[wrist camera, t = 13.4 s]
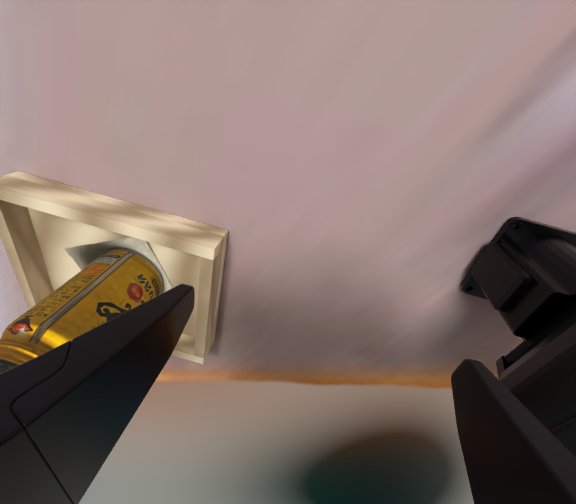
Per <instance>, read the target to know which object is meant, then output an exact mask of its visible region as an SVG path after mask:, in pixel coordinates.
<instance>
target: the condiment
mask: <svg viewBox="0 0 576 504" xmlns="http://www.w3.org/2000/svg"><path fill="white" fill-rule="evenodd" d="M64 250H65V251H66V252H67V253H68V255H69V256H71V257H72V258H73V260H74V261H75V262H76V264H77V265H78V267H79V268H80V269H81V271H80V272H79V273H78V274H76V275H75V276H74V277H72V278H71V279H69V280H68V281H67V282H65V283H64V284H63V285H62V286H60V287H59V288H58V289H56V290H55V291H54V292H52V293H51V294H50V295H48V296H47V297H45V298H44V299H43V300H42V301H40V302H39V303H38V304H36V305H35V306H34V307H32V308H31V309H30V310H28V311H27V312H26V313H24V314H23V315H21V316H20V317H19V318H18V319H16V320H15V321H13V322H12V323H11V324H10V325H9V326H8V327H7V328H6V329H5V331H4V332H3V335H2V338H1V339H0V373H2V372H5V371H7V370H9V369H11V368H13V367H16V366H18V365H20V364H22V363H25V362H27V361H29V360H31V359H33V358H35V357H37V356H40V355H42V354H44V353H46V352H48V351H50V350H52V349H54V348H56V347H58V346H60V345H62V344H64V343H66V342H68V341H72V339H74V338H76V337H78V336H80V335H82V334H84V333H85V332H87V331H89V330H91V329H93V328H95V327H97V326H99V325H101V324H103V323H105V322H107V321H109V320H111V319H113V318H115V317H117V316H119V315H121V314H123V313H125V312H127V311H129V310H131V309H133V308H134V307H136V306H138V305H140V304H142V303H144V302H146V301H148V300H150V299H152V298H154V297H156V296H158V295H160V294H162V293H164V292H166V291H168V290H170V289H172V286H171V284H170V282H169V280H168V279H167V277H166V275H165V273H164V271H163V270H162V268H161V266H160V264H159V262H158V260H157V259H156V257H155V256H154V254H153V252H152V251H151V249H150V247H149V246H148V244H147V242H146V241H144V240H140V239H137V238H133V237H130V238H123V239H116V240H111V241H105V242H99V243H95V244H88V245H81V246H76V247H71V248H64Z"/></svg>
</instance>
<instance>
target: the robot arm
mask: <svg viewBox="0 0 576 504" xmlns="http://www.w3.org/2000/svg"><path fill="white" fill-rule="evenodd" d="M516 223H519V224H518V225H517V226H516V227H513V225H514V224H516ZM468 286H470V287H469V288H466V287H468ZM461 289H462V290H463V292H465V293H467V294H471V295H474V296H478V297H481V298H485V299H488V300H489V301H490V303H491V305H492V306H493V308H494V309H495V310H498V311H499V313H500V314H501V316H502V317H503V319H504V320H505V322H506V323H507V325H508V326H509V328H510V329H511V331H512V332H513V334H514V335H516V336H519V337H521V338H522V339H523V342H522V343H521V344H520V345H519V346H517V347H516V348H515V349H514V350H512V351H511V352H510V353H509V354H507V355H506V356H502V357H501V358H499V359H498V360H497V361H496V365H497V371H498V376H499V380H498V379H497V378H496V377H495V376H494V375H493V374H492V373H491V372H490V371H489V370H488V369H487V368H486V367H485V366H484V365H483V364H482V363H481V362H479V361H475V360H471V359H465V360H463V361H462V363H461V364H460V365H459V366H458V367H457V369H456V370H455V371H454V372H453V374H452V377H451V383H452V391H453V399H454V407H455V415H456V423H457V428H458V434H459V439H460V443H461V447H462V452H463V456H464V461H465V465H466V469H467V474H468V478H469V482H470V487H471V491H472V496H473V500H474V504H576V233H574V232H571V231H567V230H564V229H560V228H556V227H553V226H549V225H546V224H542V223H538V222H535V221H531V220H528V219H524V218H520V217H513V218H511V219H509V220H508V221H507V222H506V224H505V225H504V226H503V228H502V229H501V230H500V232H499V233H498V235H497V236H496V237H495V239H494V240H493V241H492V243H491V244H489V245H488V247H487V248H486V249H485V251H484V252H483V254H482V255H481V256H480V258H479V259H478V260H477V262H476V263H475V264H474V266H473V267H472V269H471V270H470V273H469V274H468V275H467V277H466V278H465V279H464V281H463V282H462V283H461ZM194 304H195V289H194V287H193V286H191V285H187V284H180V285H178V286H176V287H174V288H172V289H170V290H168V291H166V292H164V293H162V294H160V295H158V296H156V297H154V298H152V299H150V300H148V301H146V302H144V303H142V304H140V305H138V306H136V307H134V308H133V309H131V310H129V311H127V312H125V313H123V314H121V315H119V316H117V317H115V318H113V319H111V320H109V321H107V322H105V323H103V324H101V325H99V326H97V327H95V328H93V329H91V330H89V331H87V332H85V333H84V334H82V335H80V336H78V337H76V338H74V339H72V341H68V342H66V343H64V344H62V345H60V346H58V347H56V348H54V349H52V350H50V351H48V352H46V353H44V354H42V355H40V356H37V357H35V358H33V359H31V360H29V361H27V362H25V363H22V364H20V365H18V366H16V367H13V368H11V369H9V370H7V371H5V372H2V373H0V504H78V503H79V502H80V500H81V498H82V497H83V495H84V494H85V492H86V490H87V489H88V487H89V486H90V484H91V482H92V481H93V479H94V478H95V476H96V475H97V473H98V471H99V470H100V468H101V467H102V465H103V463H104V462H105V460H106V459H107V457H108V455H109V454H110V452H111V451H112V449H113V447H114V446H115V444H116V442H117V441H118V439H119V438H120V436H121V434H122V433H123V431H124V430H125V428H126V427H127V425H128V423H129V422H130V420H131V419H132V417H133V415H134V414H135V412H136V411H137V409H138V407H139V406H140V404H141V402H142V401H143V399H144V398H145V396H146V394H147V393H148V391H149V390H150V388H151V386H152V385H153V383H154V382H155V380H156V378H157V377H158V375H159V374H160V372H161V370H162V369H163V367H164V366H165V364H166V362H167V361H168V359H169V358H170V356H171V354H172V353H173V351H174V349H175V347H176V345H177V343H178V341H179V339H180V337H181V334H182V332H183V330H184V328H185V326H186V324H187V322H188V320H189V318H190V316H191V314H192V311H193V309H194Z"/></svg>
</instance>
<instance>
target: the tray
mask: <svg viewBox="0 0 576 504" xmlns="http://www.w3.org/2000/svg"><path fill="white" fill-rule="evenodd" d="M0 237H1V239H2V242H3V245H4V247H5V250H6V252H7V255H8V257H9V260H10V262H11V265H12V267H13V270H14V273H15V275H16V278H17V280H18V283H19V285H20V288H21V290H22V293H23V296H24V298H25V301H26V303H27V306H28V308H29V310H30V309H31V308H32V307H34V306H35V305H36V304H38V303H39V302H40V301H42V300H43V299H44V298H45V297H47V296H48V295H50V294H51V293H52V292H54V291H55V290H56V289H58V288H59V287H60V286H62V285H63V284H64V283H65V282H67V281H68V280H69V279H71V278H72V277H74V276H75V275H76V274H78V273H79V272H80V271H81V269H80V268H79V267H78V265H77V264H76V262H75V261H74V260H73V258H72V257H71V256H69V255H68V253H67V252H66V251H65V250H64V248H71V247H76V246H81V245H88V244H95V243H99V242H105V241H111V240H116V239H123V238H130V237H133V238H137V239H140V240H144V241H146V242H147V244H148V246H149V247H150V249H151V251H152V252H153V254H154V256H155V257H156V259H157V260H158V262H159V264H160V266H161V268H162V270H163V271H164V273H165V275H166V277H167V279H168V280H169V282H170V284H171V286H172V288H174V287H176V286H178V285H180V284H187V285H191V286H193V287H194V289H195V304H194V309H193V311H192V314H191V316H190V318H189V320H188V322H187V324H186V326H185V328H184V330H183V332H182V334H181V337H180V339H179V341H178V343H177V345H176V347H175V349H174V351H173V353H172V354H171V355H172V356H176V357H179V358H183V359H186V360H190V361H193V362H197V363H200V364H204V362H205V360H206V358H207V355H208V353H209V351H210V349H211V347H212V345H213V343H214V341H215V333H216V325H217V317H218V309H219V301H220V294H221V286H222V278H223V270H224V262H225V254H226V246H227V238H228V230H225V229H221V228H218V227H214V226H211V225H207V224H204V223H200V222H196V221H193V220H189V219H186V218H182V217H179V216H175V215H172V214H168V213H165V212H161V211H157V210H154V209H150V208H147V207H143V206H140V205H136V204H133V203H129V202H126V201H122V200H118V199H115V198H111V197H108V196H104V195H101V194H97V193H94V192H90V191H87V190H83V189H79V188H76V187H72V186H69V185H65V184H62V183H58V182H55V181H51V180H48V179H44V178H40V177H37V176H33V175H30V174H26V173H23V172H19V171H18V172H14V173H11V174H7V175H4V176H1V177H0Z"/></svg>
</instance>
